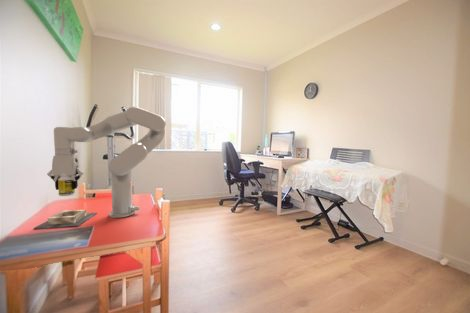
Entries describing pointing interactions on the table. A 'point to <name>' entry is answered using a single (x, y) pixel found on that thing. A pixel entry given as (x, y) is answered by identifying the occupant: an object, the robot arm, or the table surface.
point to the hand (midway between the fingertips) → (66, 188)
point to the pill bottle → (65, 185)
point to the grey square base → (66, 219)
